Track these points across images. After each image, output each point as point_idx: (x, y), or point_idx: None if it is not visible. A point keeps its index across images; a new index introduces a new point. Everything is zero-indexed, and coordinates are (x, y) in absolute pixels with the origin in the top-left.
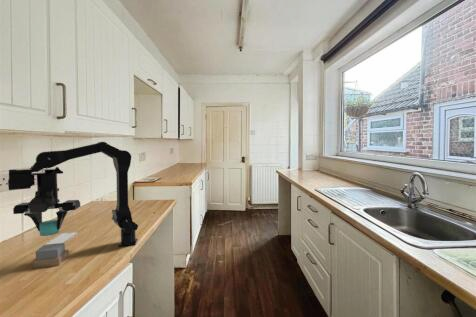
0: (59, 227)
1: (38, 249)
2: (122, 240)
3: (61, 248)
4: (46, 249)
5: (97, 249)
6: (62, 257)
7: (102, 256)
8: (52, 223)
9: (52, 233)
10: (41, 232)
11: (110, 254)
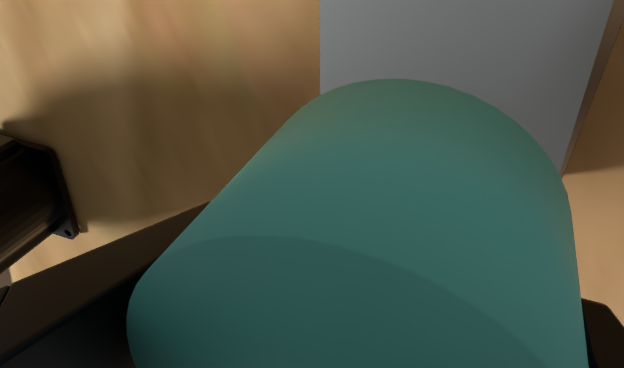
0: (175, 223)
1: (585, 85)
2: (12, 177)
3: None
4: (468, 34)
5: (174, 168)
6: None
7: (79, 4)
8: (164, 252)
9: (301, 112)
10: (514, 159)
11: (42, 23)
